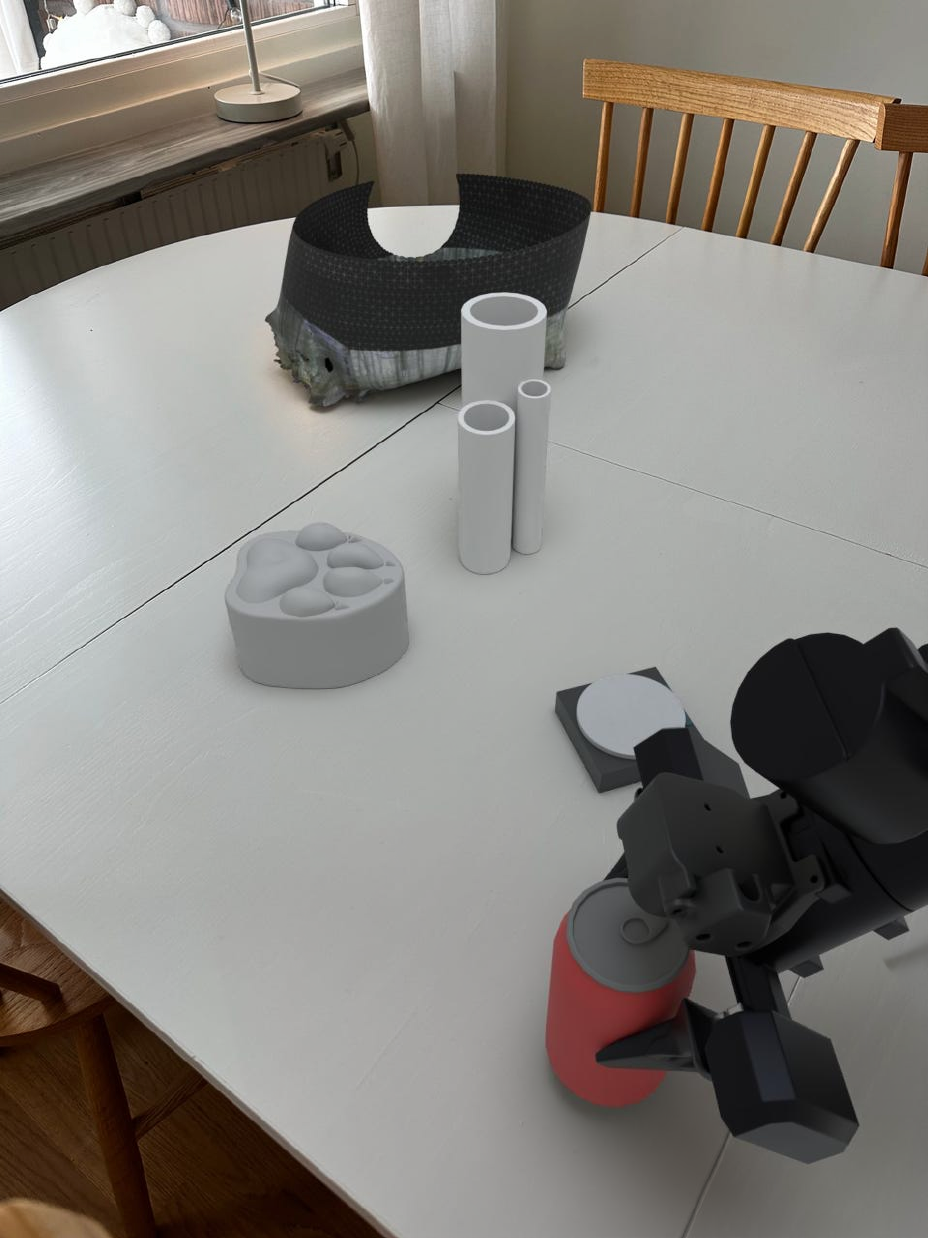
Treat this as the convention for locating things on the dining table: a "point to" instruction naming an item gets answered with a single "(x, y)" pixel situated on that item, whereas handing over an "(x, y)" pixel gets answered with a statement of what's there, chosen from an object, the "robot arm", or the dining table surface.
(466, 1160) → the dining table surface
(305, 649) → the lumpy-topped squat cylinder
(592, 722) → the scale
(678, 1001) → the beer can
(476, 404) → the vase
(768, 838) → the robot arm
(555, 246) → the basket
